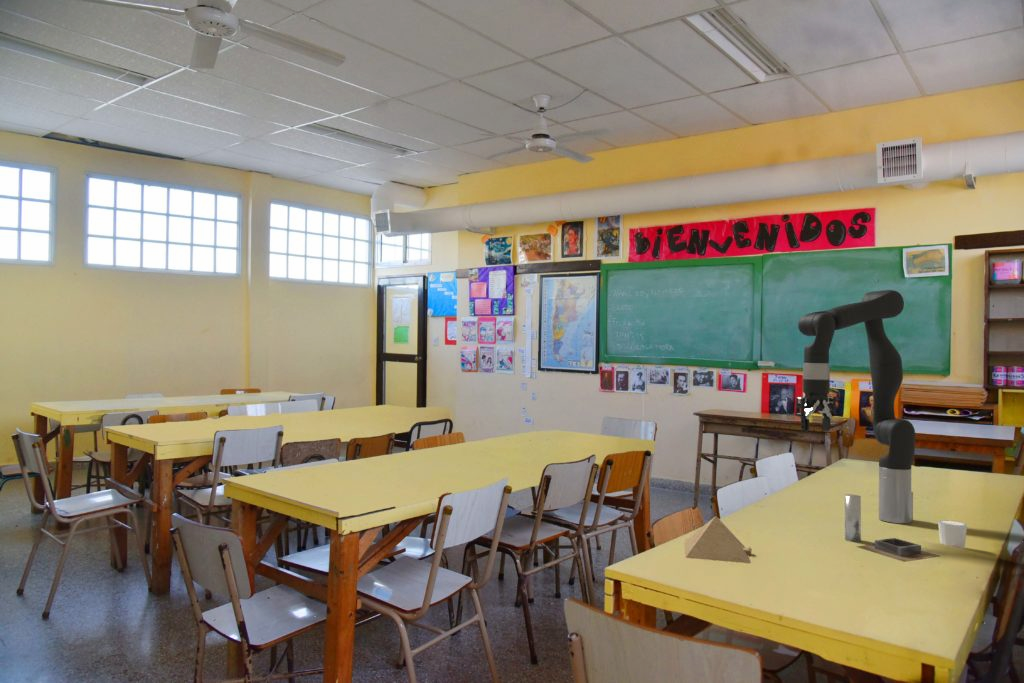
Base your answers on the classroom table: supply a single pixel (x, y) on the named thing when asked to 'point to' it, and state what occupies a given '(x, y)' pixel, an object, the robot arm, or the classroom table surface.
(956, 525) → the white cup
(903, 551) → the square socket base
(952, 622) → the classroom table surface
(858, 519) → the peg
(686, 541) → the model pyramid
